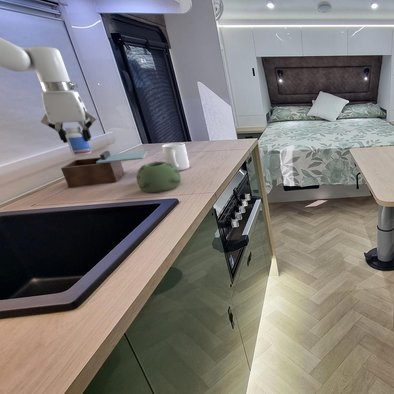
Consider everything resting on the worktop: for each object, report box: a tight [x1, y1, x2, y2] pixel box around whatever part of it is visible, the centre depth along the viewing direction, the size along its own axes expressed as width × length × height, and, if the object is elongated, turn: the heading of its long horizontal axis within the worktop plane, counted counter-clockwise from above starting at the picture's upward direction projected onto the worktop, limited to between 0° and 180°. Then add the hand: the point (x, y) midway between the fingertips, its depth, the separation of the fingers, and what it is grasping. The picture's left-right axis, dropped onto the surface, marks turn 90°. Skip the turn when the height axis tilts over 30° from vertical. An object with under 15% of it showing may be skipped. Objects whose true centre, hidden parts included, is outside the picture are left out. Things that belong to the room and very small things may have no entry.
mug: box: [161, 142, 191, 172], centre depth 120 cm, size 12×8×10 cm
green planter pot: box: [136, 160, 182, 193], centre depth 102 cm, size 16×13×9 cm
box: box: [60, 156, 125, 189], centre depth 110 cm, size 14×13×7 cm
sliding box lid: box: [96, 150, 149, 164], centre depth 112 cm, size 14×13×2 cm
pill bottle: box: [64, 125, 92, 157], centre depth 104 cm, size 6×5×10 cm
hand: (77, 140), depth 104 cm, fingers closed on pill bottle, 5 cm apart
